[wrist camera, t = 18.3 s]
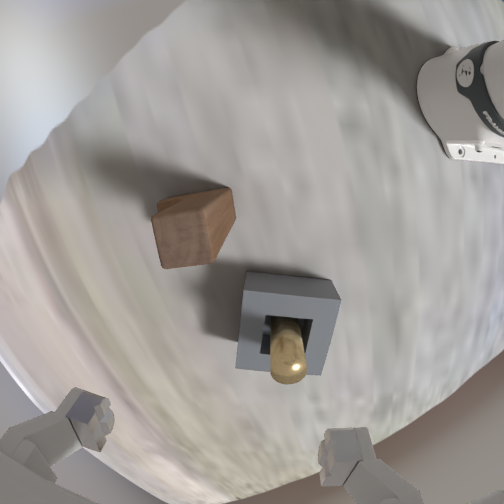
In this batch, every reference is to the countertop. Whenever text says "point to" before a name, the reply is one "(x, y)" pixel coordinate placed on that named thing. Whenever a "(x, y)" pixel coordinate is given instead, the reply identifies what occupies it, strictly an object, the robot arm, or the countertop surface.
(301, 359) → the brass pin
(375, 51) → the countertop surface
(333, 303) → the hole holder
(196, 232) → the wooden block
